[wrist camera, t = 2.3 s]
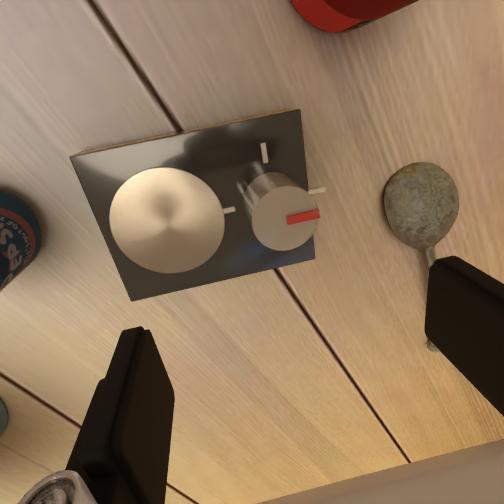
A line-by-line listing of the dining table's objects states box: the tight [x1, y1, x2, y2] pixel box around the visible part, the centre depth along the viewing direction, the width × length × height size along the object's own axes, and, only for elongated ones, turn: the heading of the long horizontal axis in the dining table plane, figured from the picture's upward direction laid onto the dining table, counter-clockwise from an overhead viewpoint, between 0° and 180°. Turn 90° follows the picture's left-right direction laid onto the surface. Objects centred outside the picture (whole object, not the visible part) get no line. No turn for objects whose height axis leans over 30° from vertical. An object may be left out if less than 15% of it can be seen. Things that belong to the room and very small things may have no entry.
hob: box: [70, 108, 326, 301], centre depth 25 cm, size 17×12×3 cm
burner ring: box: [109, 167, 225, 273], centre depth 24 cm, size 8×8×1 cm
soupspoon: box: [384, 163, 459, 353], centre depth 31 cm, size 22×3×7 cm
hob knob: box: [244, 172, 320, 251], centre depth 22 cm, size 4×4×5 cm
